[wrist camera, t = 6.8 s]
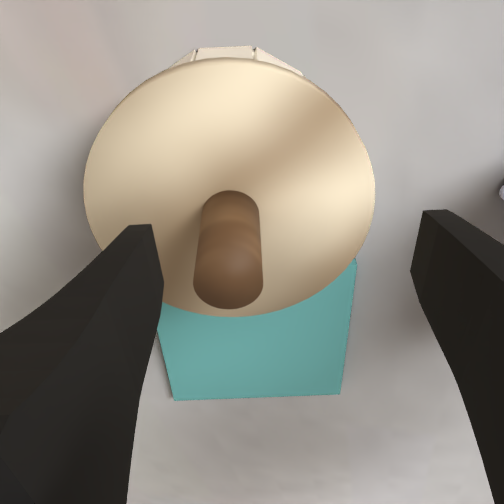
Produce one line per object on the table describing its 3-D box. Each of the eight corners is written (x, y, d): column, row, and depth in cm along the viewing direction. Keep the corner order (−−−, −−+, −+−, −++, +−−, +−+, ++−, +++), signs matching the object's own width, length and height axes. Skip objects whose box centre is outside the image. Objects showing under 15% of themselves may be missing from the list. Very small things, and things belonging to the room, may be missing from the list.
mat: (355, 258, 26) (357, 264, 25) (338, 387, 33) (339, 394, 32) (145, 266, 26) (143, 273, 25) (175, 393, 33) (174, 400, 32)
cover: (428, 154, 17) (486, 228, 13) (274, 330, 23) (281, 420, 19) (158, -15, 13) (122, 15, 9) (56, 244, 19) (7, 331, 15)
